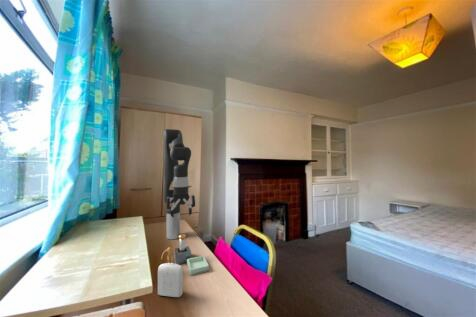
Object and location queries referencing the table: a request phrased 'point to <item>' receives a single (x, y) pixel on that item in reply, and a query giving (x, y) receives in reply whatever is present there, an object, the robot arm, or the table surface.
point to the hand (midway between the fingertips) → (181, 215)
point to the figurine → (169, 253)
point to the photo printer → (170, 280)
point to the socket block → (182, 255)
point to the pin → (182, 242)
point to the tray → (197, 265)
